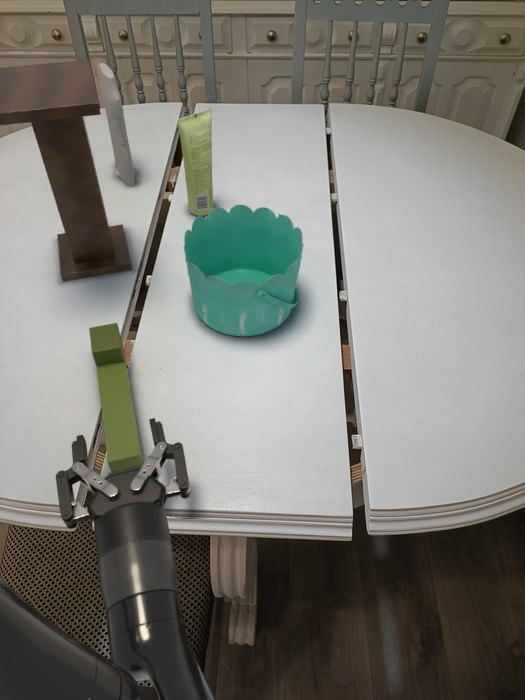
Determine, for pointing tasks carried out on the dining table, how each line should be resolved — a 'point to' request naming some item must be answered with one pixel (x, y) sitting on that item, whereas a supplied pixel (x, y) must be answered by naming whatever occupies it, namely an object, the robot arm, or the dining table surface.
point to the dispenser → (117, 126)
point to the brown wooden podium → (67, 160)
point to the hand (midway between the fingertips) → (117, 430)
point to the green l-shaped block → (115, 398)
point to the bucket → (243, 269)
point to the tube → (198, 160)
